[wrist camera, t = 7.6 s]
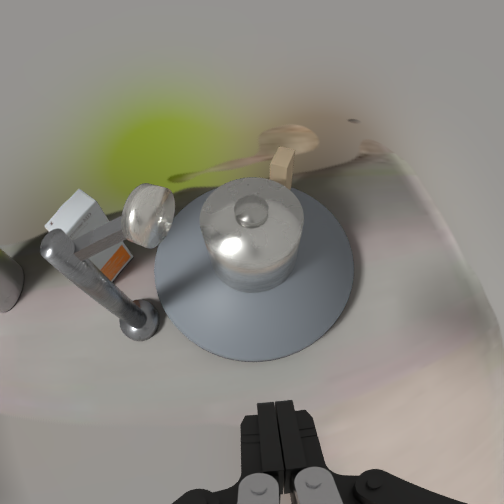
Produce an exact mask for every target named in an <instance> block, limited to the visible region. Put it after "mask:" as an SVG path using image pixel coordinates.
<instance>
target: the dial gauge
mask: <svg viewBox="0 0 504 504" xmlns="http://www.w3.org/2000/svg"><path fill="white" fill-rule="evenodd" d="M174 212H175V200H174V196H173V194H172V192H171V191H170V190H169V189H168V188H164V187H161V186H156V185H152V184H148V183H145V184H141V185H139V186H137V187H136V188H135V189H134V190H133V191H132V192H131V194H130V195H129V197H128V198H127V200H126V203H125V205H124V208H123V212H122V216H120V217H118V218H116V219H114V220H112V221H110V222H108V223H106V224H104V225H102V226H100V227H98V228H96V229H94V230H92V231H90V232H88V233H86V234H84V235H82V236H80V237H78V238H76V239H75V240H73V241H72V240H71V239H70V238H69V237H68V236H67V235H66V233H65V232H64V231H63V230H62V229H59V228H57V229H53V230H51V231H50V232H49V233H48V234H47V235H46V236H45V237H44V239H43V240H42V243H41V246H40V253H41V255H42V256H43V257H44V258H45V259H46V260H47V261H48V262H49V263H50V264H52V265H53V266H54V267H55V268H56V269H57V270H58V271H60V272H61V273H62V274H63V275H64V276H65V277H67V278H68V279H69V280H70V281H71V282H73V283H74V284H75V285H76V286H78V287H79V288H80V289H81V290H83V291H84V292H85V293H86V294H88V295H89V296H90V297H91V298H93V299H94V300H95V301H97V302H98V303H99V304H101V305H102V306H103V307H105V308H106V309H107V310H109V311H110V312H111V313H113V314H114V315H116V316H117V317H118V318H120V327H121V330H122V331H123V333H124V334H125V335H126V336H127V337H129V338H130V339H132V340H135V341H144V340H147V339H149V338H151V337H152V336H153V335H154V334H155V332H156V331H157V329H158V326H159V314H158V312H157V310H156V308H155V307H154V306H153V305H152V304H151V303H149V302H148V301H145V300H134V301H132V300H131V299H129V298H128V297H127V296H126V295H125V294H124V293H123V292H122V291H121V290H120V289H119V288H118V287H117V286H116V285H115V284H114V283H113V282H112V281H110V280H109V279H108V278H107V277H106V276H105V275H104V274H103V273H102V272H101V271H100V270H99V269H98V268H97V267H96V266H95V265H94V264H93V262H92V261H91V260H90V259H89V257H91V256H93V255H95V254H97V253H99V252H101V251H103V250H105V249H107V248H109V247H111V246H113V245H116V244H118V243H120V242H122V241H124V240H126V239H127V240H128V241H130V242H133V243H136V244H138V245H141V246H143V247H146V248H154V247H156V246H158V245H159V244H160V243H161V242H162V241H163V240H164V239H165V237H166V235H167V234H168V232H169V230H170V227H171V225H172V222H173V218H174Z"/></svg>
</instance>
